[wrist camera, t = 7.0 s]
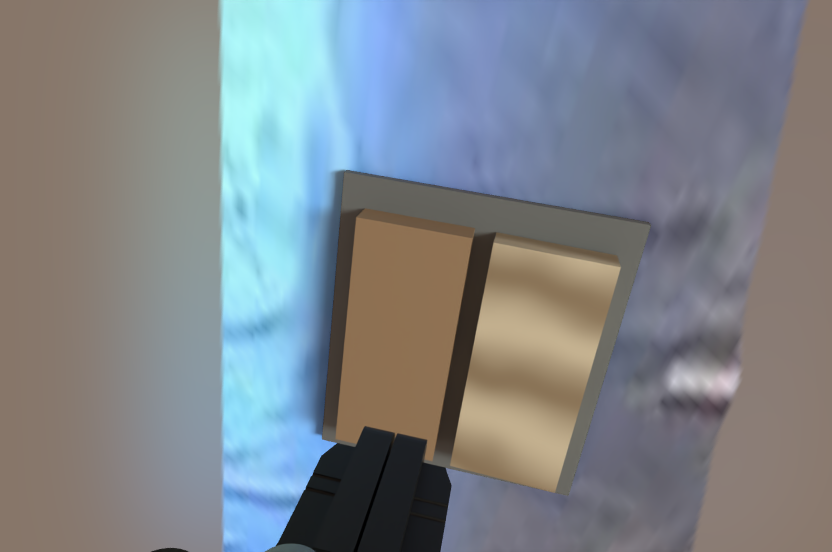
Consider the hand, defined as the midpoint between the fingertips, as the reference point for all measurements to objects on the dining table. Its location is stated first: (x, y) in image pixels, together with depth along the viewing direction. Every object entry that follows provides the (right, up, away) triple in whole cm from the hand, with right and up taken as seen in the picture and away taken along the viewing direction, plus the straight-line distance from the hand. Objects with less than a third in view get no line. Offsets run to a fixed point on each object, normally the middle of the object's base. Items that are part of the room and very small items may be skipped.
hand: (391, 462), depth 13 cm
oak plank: (+8, -1, +23) cm, 24 cm away
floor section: (+4, 0, +24) cm, 25 cm away
